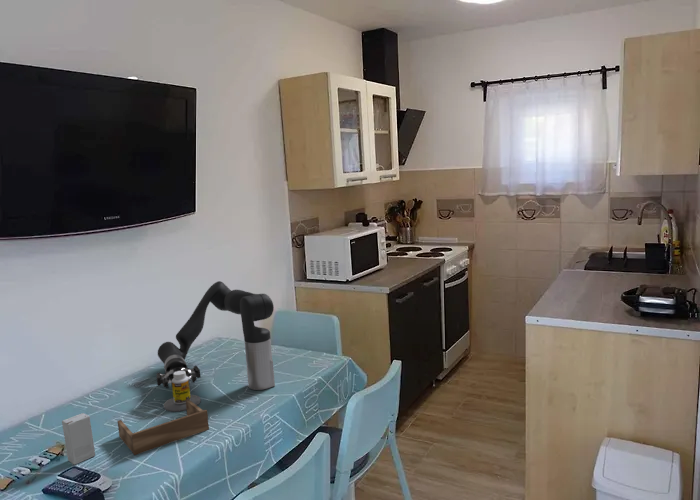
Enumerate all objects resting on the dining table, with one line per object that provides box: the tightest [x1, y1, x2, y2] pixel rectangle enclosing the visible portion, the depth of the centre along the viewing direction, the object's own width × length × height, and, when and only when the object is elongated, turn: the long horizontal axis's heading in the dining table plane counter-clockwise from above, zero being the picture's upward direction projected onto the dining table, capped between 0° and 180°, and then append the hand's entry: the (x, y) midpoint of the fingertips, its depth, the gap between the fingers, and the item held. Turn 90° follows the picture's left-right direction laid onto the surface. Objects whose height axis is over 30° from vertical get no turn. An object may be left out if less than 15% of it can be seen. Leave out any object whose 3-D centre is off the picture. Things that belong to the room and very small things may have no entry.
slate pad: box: [163, 394, 201, 413], centre depth 188 cm, size 12×12×1 cm
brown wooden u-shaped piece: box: [116, 399, 210, 456], centre depth 167 cm, size 15×22×6 cm
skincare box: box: [61, 412, 96, 465], centre depth 154 cm, size 6×4×12 cm
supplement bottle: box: [171, 371, 191, 404], centre depth 187 cm, size 6×6×10 cm
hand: (180, 382), depth 185 cm, fingers open, 8 cm apart
